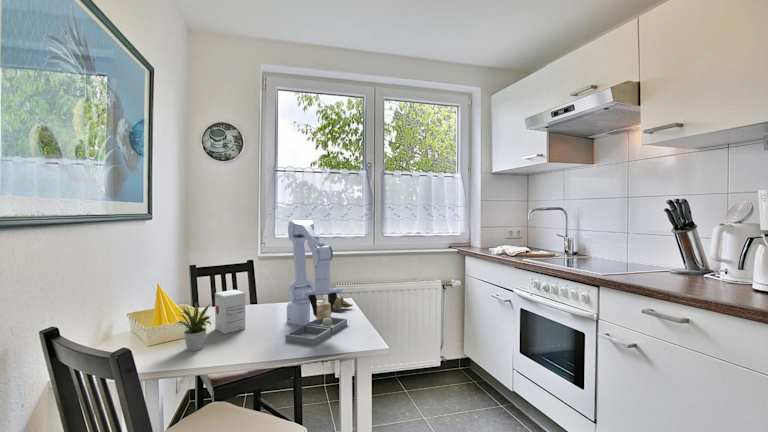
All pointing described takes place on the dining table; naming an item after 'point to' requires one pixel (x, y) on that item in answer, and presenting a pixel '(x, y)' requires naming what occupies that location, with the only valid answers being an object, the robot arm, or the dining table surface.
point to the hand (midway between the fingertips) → (322, 314)
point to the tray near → (308, 335)
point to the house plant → (195, 328)
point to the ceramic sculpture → (338, 302)
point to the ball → (327, 322)
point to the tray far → (336, 325)
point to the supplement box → (229, 311)
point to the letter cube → (323, 310)
